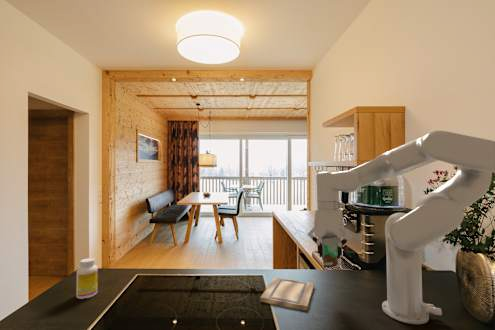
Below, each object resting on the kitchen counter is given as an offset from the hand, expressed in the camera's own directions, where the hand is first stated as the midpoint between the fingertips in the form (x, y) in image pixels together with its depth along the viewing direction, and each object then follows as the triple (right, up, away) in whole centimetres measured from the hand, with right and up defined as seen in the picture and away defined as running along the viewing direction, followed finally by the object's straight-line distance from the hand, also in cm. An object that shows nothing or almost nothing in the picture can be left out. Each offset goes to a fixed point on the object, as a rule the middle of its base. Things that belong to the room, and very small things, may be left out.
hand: (329, 256), depth 90 cm
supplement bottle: (-89, -16, +3) cm, 90 cm away
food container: (+1, -2, 0) cm, 3 cm away
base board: (-14, -15, +3) cm, 21 cm away
